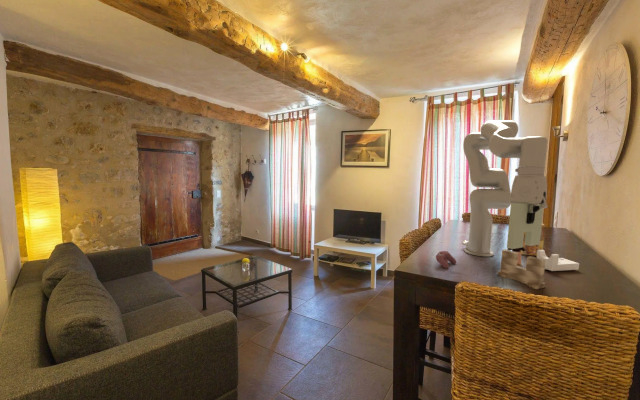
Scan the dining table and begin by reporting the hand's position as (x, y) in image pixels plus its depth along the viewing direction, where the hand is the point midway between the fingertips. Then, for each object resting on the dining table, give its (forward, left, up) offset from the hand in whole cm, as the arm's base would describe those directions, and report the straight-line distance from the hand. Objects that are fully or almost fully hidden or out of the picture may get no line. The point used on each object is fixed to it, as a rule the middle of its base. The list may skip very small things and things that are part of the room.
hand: (525, 222), depth 104 cm
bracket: (-2, +28, -23) cm, 36 cm away
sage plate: (0, 0, -9) cm, 9 cm away
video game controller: (-24, -12, -23) cm, 35 cm away
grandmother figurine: (-12, +16, -22) cm, 30 cm away
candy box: (-19, +39, -22) cm, 49 cm away
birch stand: (0, 0, -22) cm, 22 cm away
